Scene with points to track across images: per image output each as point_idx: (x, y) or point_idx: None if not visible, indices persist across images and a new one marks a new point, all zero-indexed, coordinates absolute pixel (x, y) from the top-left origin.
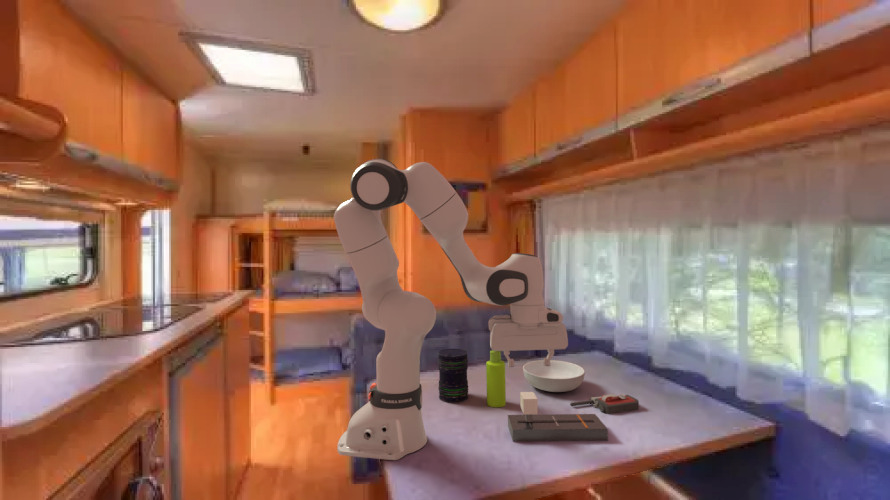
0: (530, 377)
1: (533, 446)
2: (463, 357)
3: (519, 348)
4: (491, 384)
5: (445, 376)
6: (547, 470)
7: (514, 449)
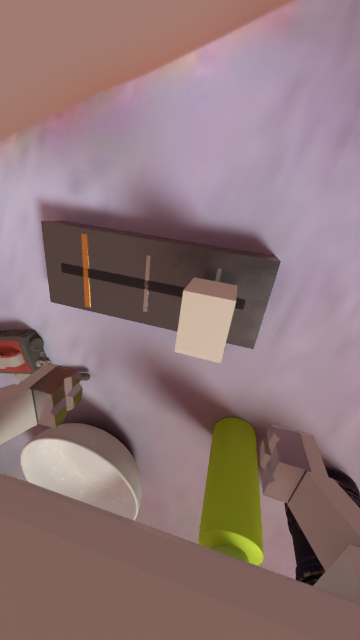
0: (134, 478)
1: (234, 221)
2: None
3: (246, 597)
4: (252, 474)
5: None
6: (253, 71)
7: (291, 212)
